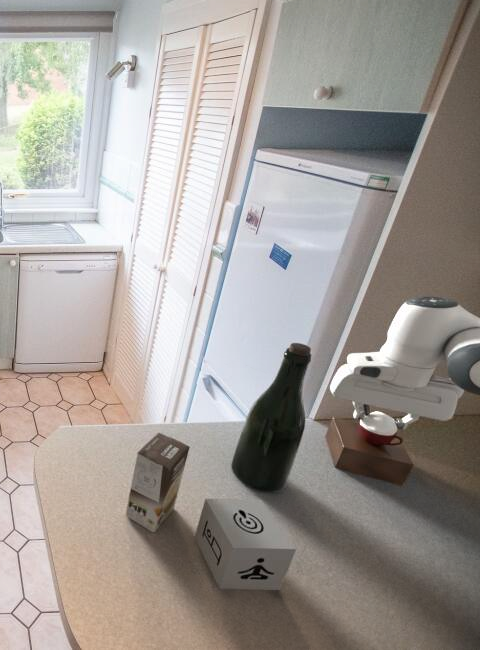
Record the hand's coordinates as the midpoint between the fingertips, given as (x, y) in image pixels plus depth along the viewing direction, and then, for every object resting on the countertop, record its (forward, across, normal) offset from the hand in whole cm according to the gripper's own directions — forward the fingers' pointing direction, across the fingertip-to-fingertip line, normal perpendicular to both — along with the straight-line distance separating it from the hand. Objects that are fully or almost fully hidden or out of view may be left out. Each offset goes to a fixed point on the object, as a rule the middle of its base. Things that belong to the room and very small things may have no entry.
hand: (377, 422), depth 101 cm
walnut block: (+11, 0, 0) cm, 11 cm away
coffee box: (+11, +42, +38) cm, 58 cm away
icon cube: (+11, +27, +43) cm, 52 cm away
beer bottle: (+11, +22, +17) cm, 30 cm away
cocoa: (+5, 0, 0) cm, 5 cm away
